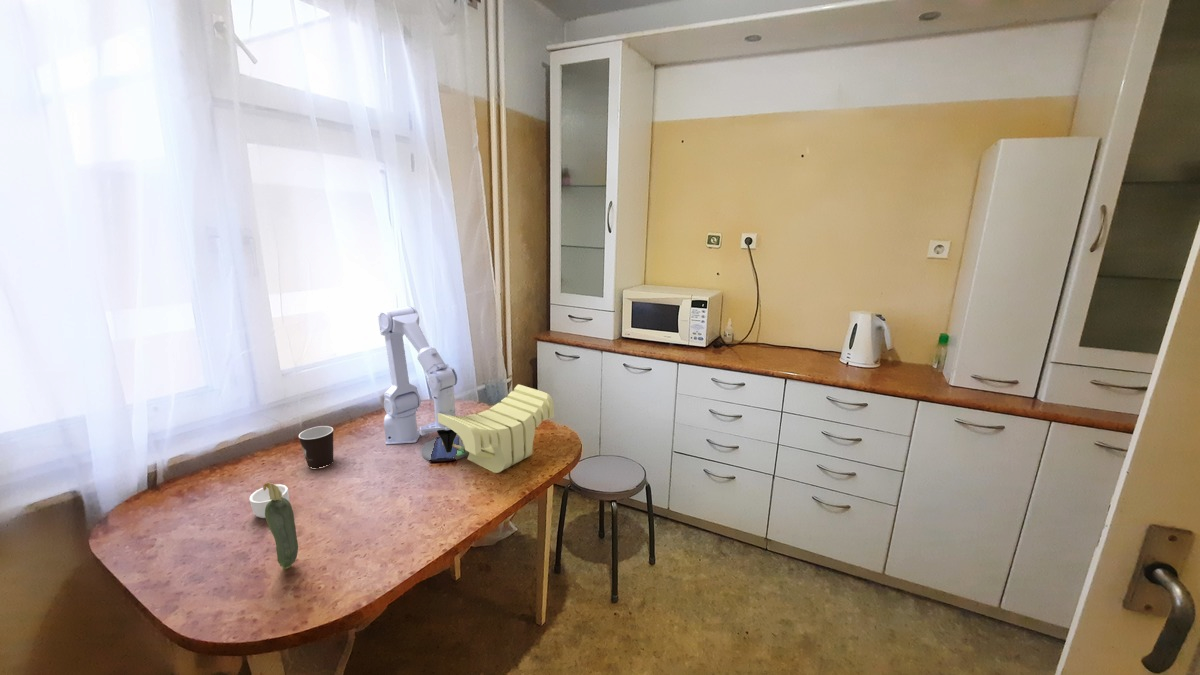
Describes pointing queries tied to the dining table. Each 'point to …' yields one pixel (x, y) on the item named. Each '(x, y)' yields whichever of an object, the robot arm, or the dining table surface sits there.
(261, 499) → the teacup
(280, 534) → the vegetable
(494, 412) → the slatted curved stool
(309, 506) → the dining table surface
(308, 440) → the coffee mug
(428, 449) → the dial plate
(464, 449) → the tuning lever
